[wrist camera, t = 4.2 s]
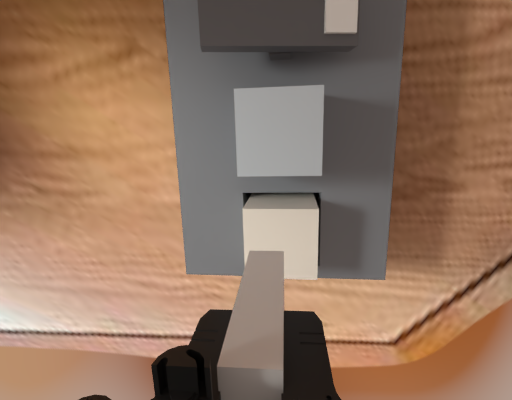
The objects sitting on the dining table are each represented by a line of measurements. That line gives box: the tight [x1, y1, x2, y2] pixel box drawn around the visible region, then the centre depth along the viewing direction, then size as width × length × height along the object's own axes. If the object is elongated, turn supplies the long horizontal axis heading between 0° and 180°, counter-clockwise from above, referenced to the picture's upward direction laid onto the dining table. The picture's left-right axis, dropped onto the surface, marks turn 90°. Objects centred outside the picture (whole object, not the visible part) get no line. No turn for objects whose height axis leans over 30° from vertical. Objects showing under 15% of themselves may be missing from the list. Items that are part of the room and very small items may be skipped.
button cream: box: [242, 193, 319, 280], centre depth 21 cm, size 4×4×6 cm
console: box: [163, 0, 407, 280], centre depth 20 cm, size 14×24×6 cm, turn 1°
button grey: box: [234, 85, 324, 177], centre depth 18 cm, size 4×4×6 cm
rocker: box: [197, 0, 360, 52], centre depth 15 cm, size 8×4×2 cm, turn 92°
